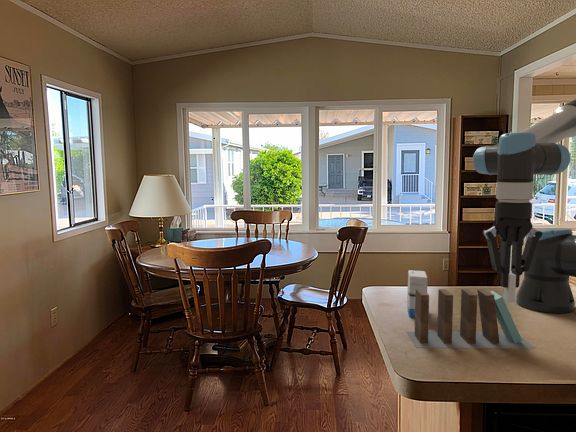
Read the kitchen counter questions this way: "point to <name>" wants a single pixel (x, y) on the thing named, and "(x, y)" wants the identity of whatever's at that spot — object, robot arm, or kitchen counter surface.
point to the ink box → (415, 282)
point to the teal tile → (506, 319)
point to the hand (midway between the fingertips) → (508, 300)
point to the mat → (461, 343)
